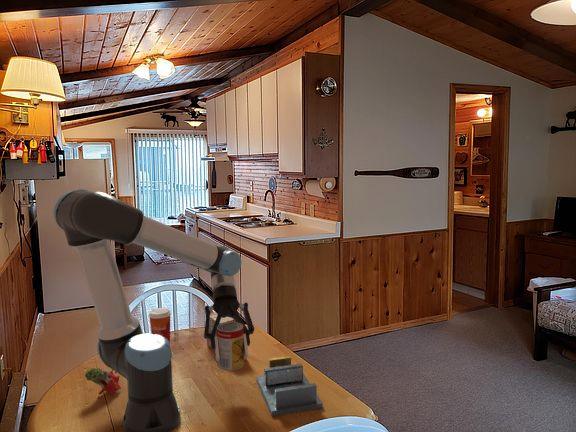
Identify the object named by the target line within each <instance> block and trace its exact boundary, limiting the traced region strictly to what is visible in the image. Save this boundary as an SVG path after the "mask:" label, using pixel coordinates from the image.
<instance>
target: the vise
mask: <svg viewBox="0 0 576 432" xmlns="http://www.w3.org/2000/svg"><path fill="white" fill-rule="evenodd" d="M256 382H257V385H258V388H259V389H260V390H259V391H260V392H261V394H262V397H263V399H264V401H265V404H266V406H267V408H268V411H269V414H270V415H271V417H276V416H282V415H288V414H295V413H299V412H300V413H301V412H307V411H313V410H320V409H323V407H324V402H323V401H322V400H321V398H320V397H319V395H318V392H317V388H318V387H317V384H316V383H314V382H313V383H310V381H309V379H307V377H306V376H305V374H304V373H303V380H299V381H292V382H285V383H278V384H272V385H265V375H258V376H256Z"/></svg>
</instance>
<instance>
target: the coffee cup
mask: <svg viewBox="0 0 576 432" xmlns="http://www.w3.org/2000/svg"><path fill="white" fill-rule="evenodd" d="M171 315H172V312H171V311H170V309H169V308H168V307H159V308H158V307H157V308H154V309H152V310H150V311H149V313H148V316H147V317H148V318H149V324H150V326H149V327H150V333H152V335H154V334H158V335H161V336H163V337H165V338H166V339H167V340H168V341H169V343H170V344H171Z"/></svg>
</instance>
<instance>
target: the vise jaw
mask: <svg viewBox="0 0 576 432" xmlns="http://www.w3.org/2000/svg"><path fill="white" fill-rule="evenodd" d="M263 369H264V370H263V371H264V372H263V373H264V375H265V385H272V384H278V383H285V382H292V381H299V380H303V374H304V366H303V364H302V363H296V364H292V356H291V355H286V356H278V357H270V358H268V367H267V368H263ZM264 375H263V376H264Z"/></svg>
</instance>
